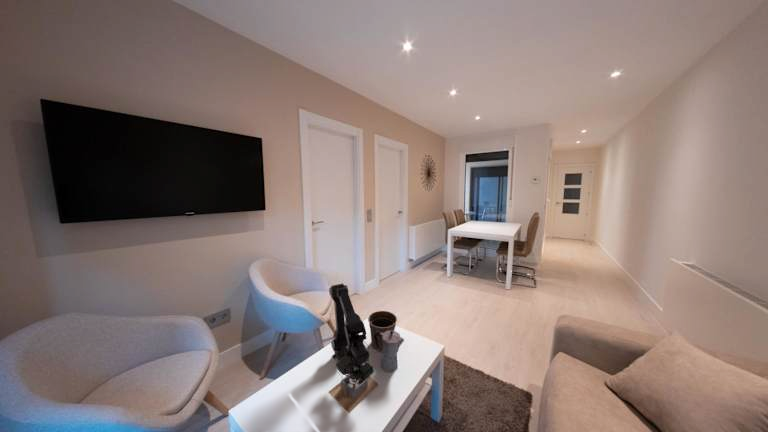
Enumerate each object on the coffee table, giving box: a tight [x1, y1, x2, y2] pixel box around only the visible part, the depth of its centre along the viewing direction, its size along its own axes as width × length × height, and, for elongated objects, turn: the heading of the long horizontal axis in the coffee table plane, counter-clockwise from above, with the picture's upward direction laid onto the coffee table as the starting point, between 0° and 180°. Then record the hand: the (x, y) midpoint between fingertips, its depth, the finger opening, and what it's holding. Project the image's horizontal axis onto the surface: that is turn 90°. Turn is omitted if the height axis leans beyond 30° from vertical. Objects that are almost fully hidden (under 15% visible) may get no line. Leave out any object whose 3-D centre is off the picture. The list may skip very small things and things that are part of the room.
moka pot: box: [374, 330, 405, 374], centre depth 116 cm, size 10×15×20 cm, turn 78°
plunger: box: [347, 369, 361, 390], centre depth 104 cm, size 6×6×7 cm
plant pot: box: [367, 310, 398, 353], centre depth 132 cm, size 16×16×16 cm
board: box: [328, 375, 380, 414], centre depth 104 cm, size 14×18×1 cm
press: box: [340, 374, 368, 400], centre depth 103 cm, size 8×10×4 cm
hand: (354, 378), depth 103 cm, fingers closed on plunger, 3 cm apart
